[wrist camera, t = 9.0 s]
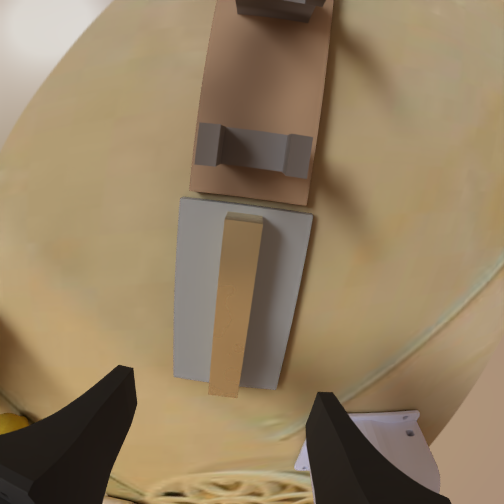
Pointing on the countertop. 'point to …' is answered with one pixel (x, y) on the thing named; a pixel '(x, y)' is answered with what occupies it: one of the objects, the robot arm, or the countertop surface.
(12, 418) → the lemon
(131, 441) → the countertop surface
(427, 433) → the countertop surface
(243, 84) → the rack
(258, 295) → the mat
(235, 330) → the rail
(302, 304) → the countertop surface
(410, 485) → the robot arm
